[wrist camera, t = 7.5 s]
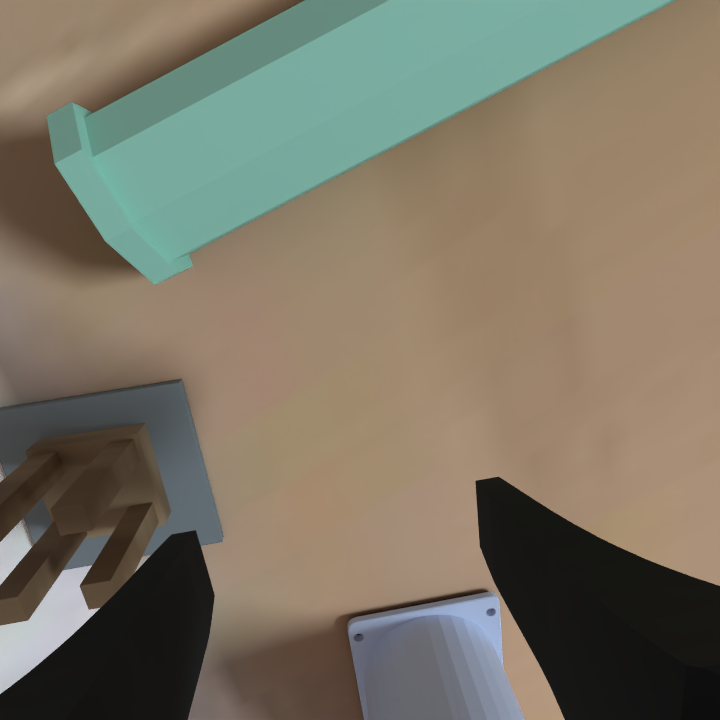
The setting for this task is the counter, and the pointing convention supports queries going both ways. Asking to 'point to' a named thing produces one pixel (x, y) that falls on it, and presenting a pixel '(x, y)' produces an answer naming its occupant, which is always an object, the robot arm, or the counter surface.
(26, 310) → the counter surface
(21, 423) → the mat
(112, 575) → the stool
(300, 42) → the container
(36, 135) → the counter surface
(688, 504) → the counter surface
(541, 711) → the counter surface
